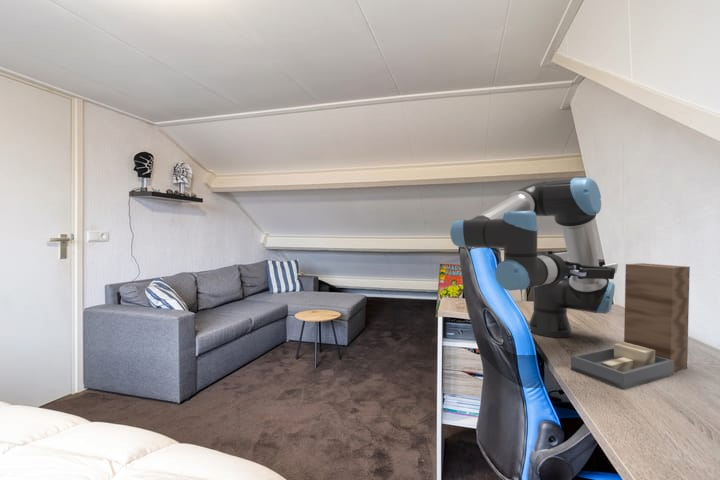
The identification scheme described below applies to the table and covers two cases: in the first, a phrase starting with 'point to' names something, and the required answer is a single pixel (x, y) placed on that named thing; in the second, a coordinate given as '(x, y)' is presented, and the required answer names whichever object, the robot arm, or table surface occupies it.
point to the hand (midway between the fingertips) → (589, 261)
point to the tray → (624, 380)
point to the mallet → (630, 357)
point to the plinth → (658, 310)
